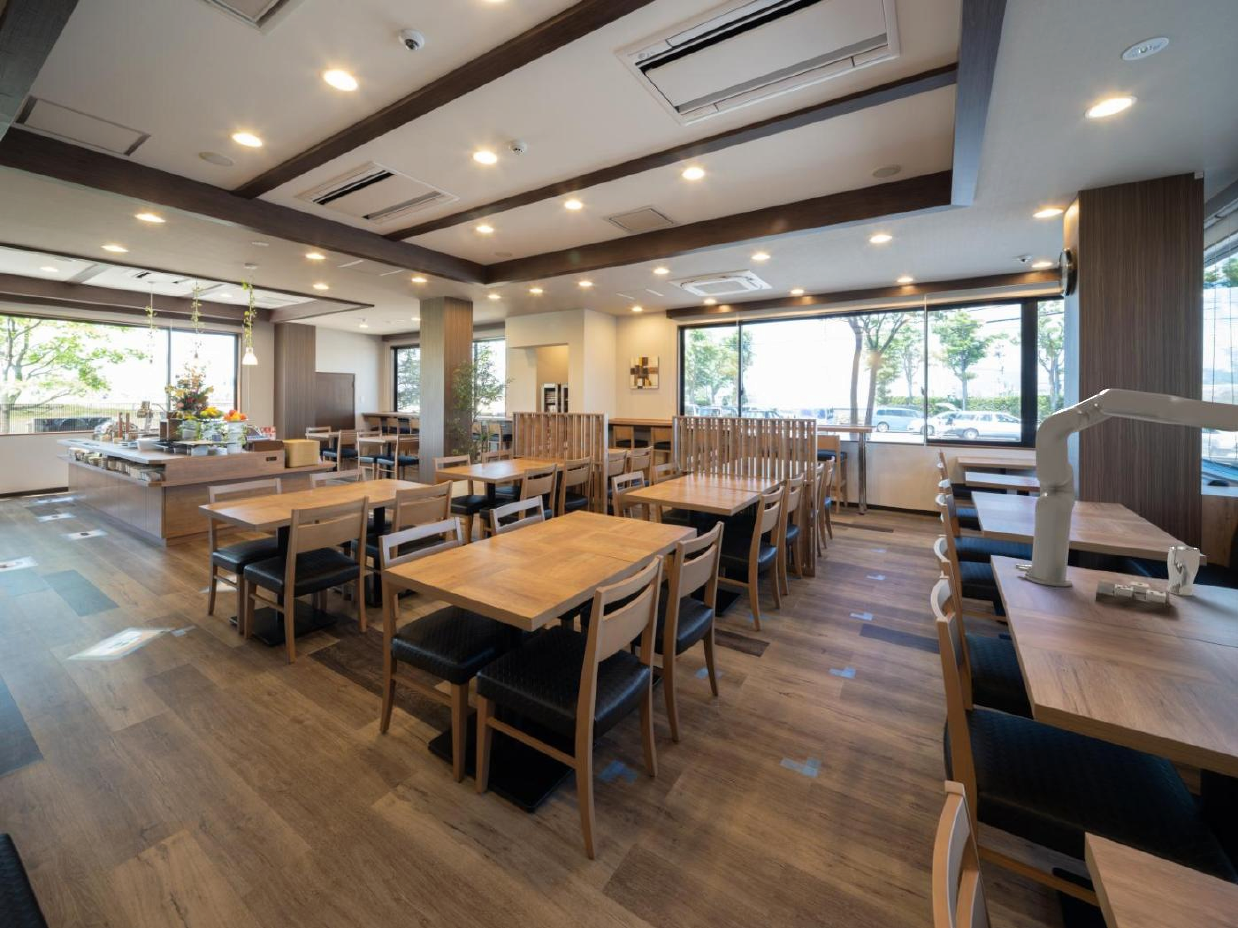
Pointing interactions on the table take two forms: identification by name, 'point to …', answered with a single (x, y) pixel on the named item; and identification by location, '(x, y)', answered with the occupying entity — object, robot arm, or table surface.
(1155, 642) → the table surface
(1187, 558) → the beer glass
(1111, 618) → the table surface
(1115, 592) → the tile three pips
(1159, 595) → the tile two pips
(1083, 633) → the table surface
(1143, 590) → the tile one pip
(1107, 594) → the button board
